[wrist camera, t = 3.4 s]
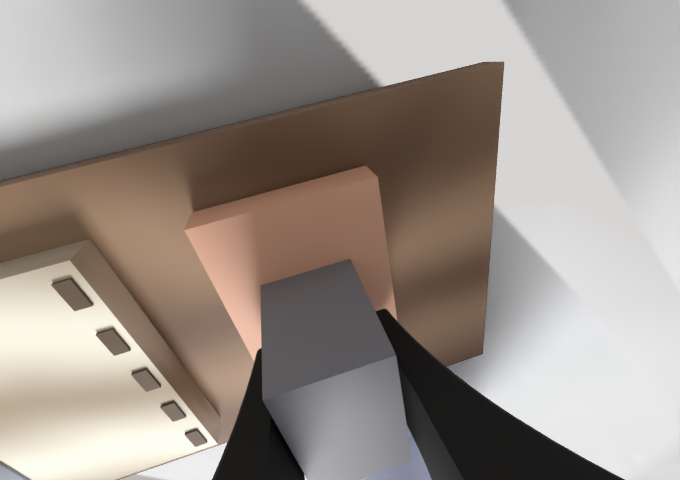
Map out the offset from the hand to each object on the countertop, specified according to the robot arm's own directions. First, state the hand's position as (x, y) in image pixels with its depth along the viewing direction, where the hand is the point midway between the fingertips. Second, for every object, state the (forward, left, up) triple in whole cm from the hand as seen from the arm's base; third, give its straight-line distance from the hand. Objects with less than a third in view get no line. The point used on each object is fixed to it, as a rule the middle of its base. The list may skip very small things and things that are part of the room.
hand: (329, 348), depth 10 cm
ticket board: (0, +5, -3) cm, 6 cm away
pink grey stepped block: (0, 0, -2) cm, 2 cm away
